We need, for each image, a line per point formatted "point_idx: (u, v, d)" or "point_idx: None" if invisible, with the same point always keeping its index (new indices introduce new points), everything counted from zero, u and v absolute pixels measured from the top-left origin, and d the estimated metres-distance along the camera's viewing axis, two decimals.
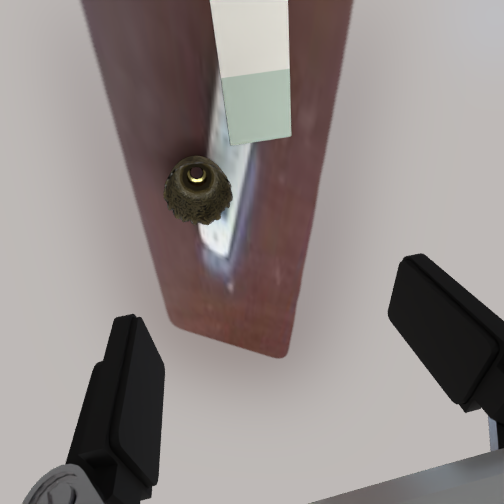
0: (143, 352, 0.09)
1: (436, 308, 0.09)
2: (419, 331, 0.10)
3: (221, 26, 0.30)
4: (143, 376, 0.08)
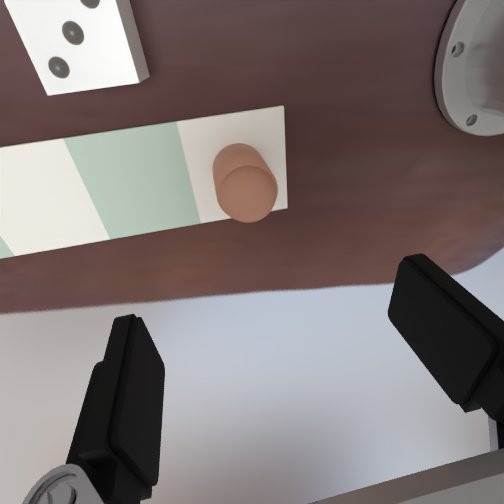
0: (143, 352, 0.09)
1: (436, 308, 0.09)
2: (419, 331, 0.10)
3: (23, 157, 0.19)
4: (143, 376, 0.08)
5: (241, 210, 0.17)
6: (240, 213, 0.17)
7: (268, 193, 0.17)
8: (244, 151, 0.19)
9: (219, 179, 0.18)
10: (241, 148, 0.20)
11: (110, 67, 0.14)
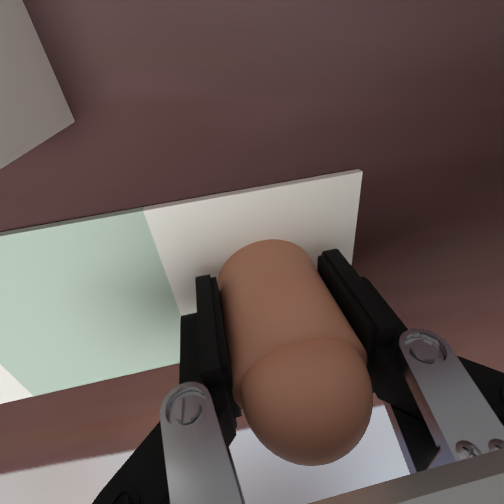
0: (221, 306, 0.10)
1: (339, 298, 0.09)
2: None
3: None
4: None
5: (298, 460, 0.07)
6: (295, 463, 0.07)
7: (366, 419, 0.07)
8: (289, 275, 0.09)
9: (241, 365, 0.08)
10: (280, 261, 0.10)
11: None
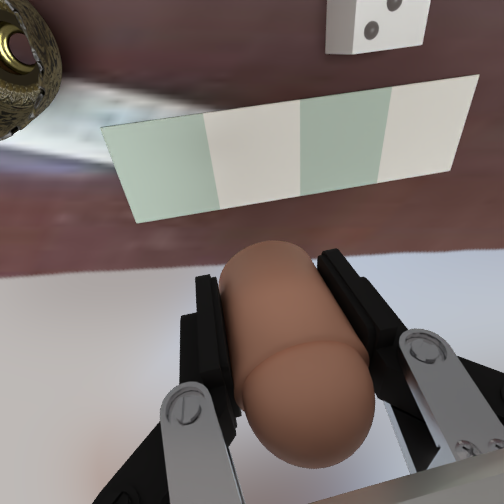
0: (221, 306, 0.10)
1: (339, 298, 0.09)
2: None
3: (263, 116, 0.22)
4: (224, 325, 0.10)
5: (300, 463, 0.07)
6: None
7: (369, 422, 0.07)
8: (291, 277, 0.09)
9: (242, 367, 0.08)
10: (281, 263, 0.10)
11: (407, 30, 0.17)
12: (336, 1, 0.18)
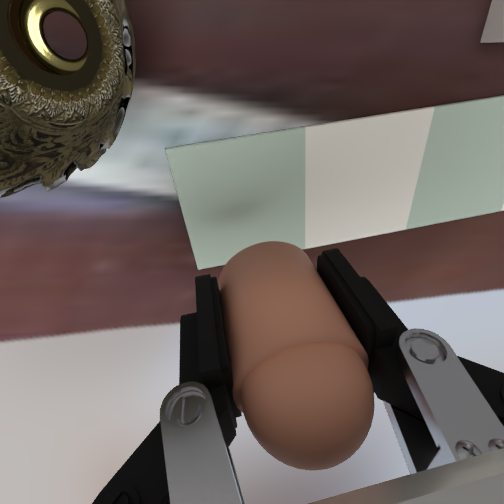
0: (221, 306, 0.10)
1: (339, 298, 0.09)
2: None
3: (383, 130, 0.16)
4: (224, 325, 0.10)
5: (299, 465, 0.07)
6: (296, 467, 0.07)
7: (368, 424, 0.07)
8: (290, 278, 0.09)
9: (241, 368, 0.08)
10: (281, 264, 0.10)
11: None
12: None
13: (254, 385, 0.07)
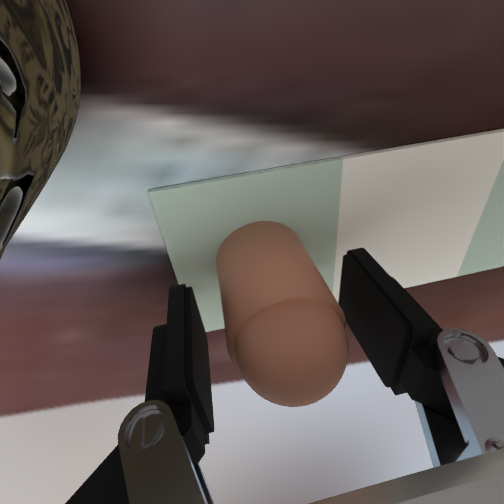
0: (196, 317, 0.10)
1: (368, 298, 0.09)
2: (359, 320, 0.10)
3: (445, 160, 0.12)
4: (198, 337, 0.09)
5: (283, 400, 0.08)
6: (280, 404, 0.08)
7: (340, 366, 0.08)
8: (279, 250, 0.10)
9: (234, 322, 0.09)
10: (271, 239, 0.11)
11: None
12: None
13: (245, 335, 0.08)
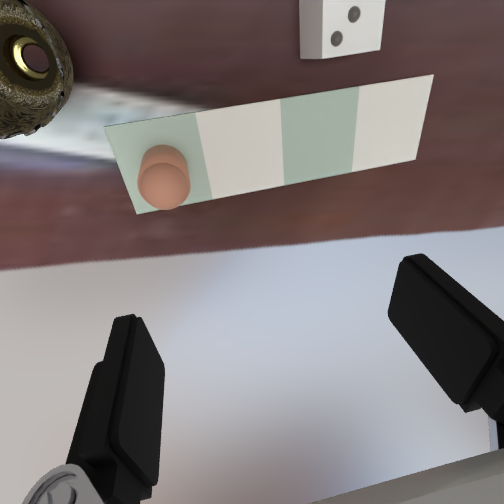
0: (143, 352, 0.09)
1: (436, 308, 0.09)
2: (419, 331, 0.10)
3: (248, 114, 0.25)
4: (143, 375, 0.08)
5: (156, 199, 0.21)
6: (156, 202, 0.22)
7: (177, 185, 0.21)
8: (162, 151, 0.23)
9: (138, 175, 0.22)
10: (161, 149, 0.24)
11: (366, 38, 0.21)
12: (307, 14, 0.21)
13: (141, 177, 0.22)
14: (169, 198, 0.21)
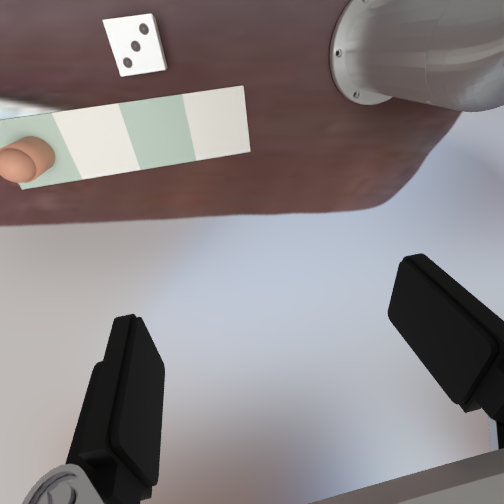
0: (143, 352, 0.09)
1: (436, 308, 0.09)
2: (419, 331, 0.10)
3: (95, 114, 0.34)
4: (143, 376, 0.08)
5: (3, 174, 0.30)
6: (4, 176, 0.30)
7: (17, 163, 0.30)
8: (20, 140, 0.32)
9: None
10: (22, 139, 0.33)
11: (151, 62, 0.29)
12: None
13: None
14: (12, 173, 0.30)
